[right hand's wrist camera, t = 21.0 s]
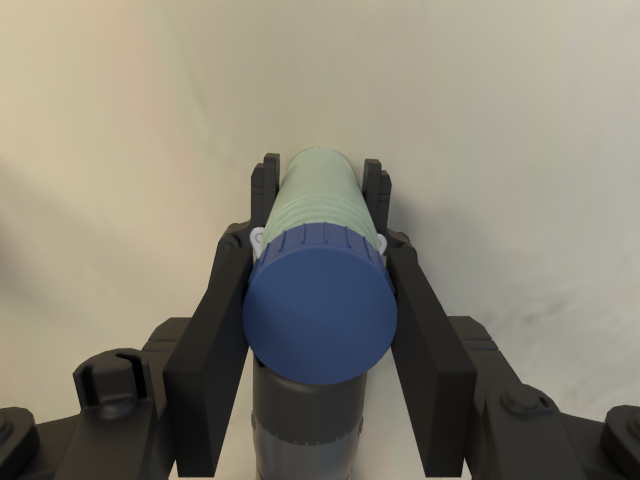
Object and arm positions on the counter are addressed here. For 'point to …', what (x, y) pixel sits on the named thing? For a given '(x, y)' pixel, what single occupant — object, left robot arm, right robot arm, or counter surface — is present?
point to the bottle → (319, 196)
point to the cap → (319, 305)
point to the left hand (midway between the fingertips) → (323, 159)
